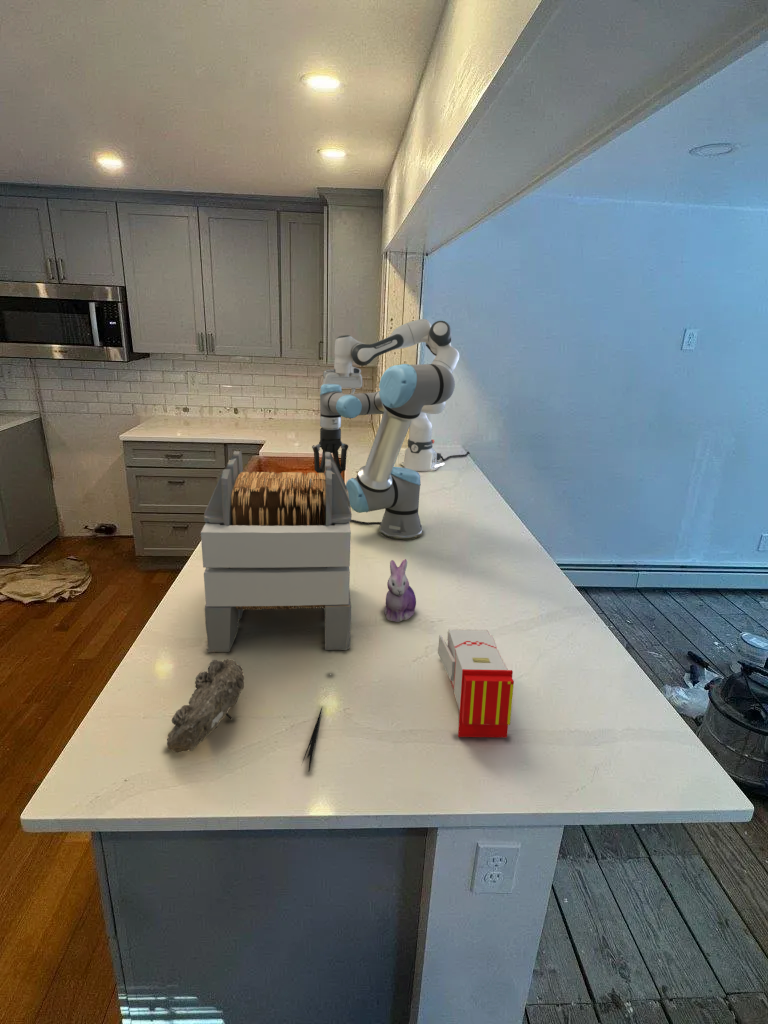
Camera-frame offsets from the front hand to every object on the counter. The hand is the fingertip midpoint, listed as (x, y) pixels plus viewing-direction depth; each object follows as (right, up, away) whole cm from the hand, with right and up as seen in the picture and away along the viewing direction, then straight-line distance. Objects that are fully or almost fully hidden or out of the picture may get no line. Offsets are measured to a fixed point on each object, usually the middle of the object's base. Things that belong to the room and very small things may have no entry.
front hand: (330, 489), depth 213 cm
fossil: (-12, -48, -105) cm, 116 cm away
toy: (+38, -46, -94) cm, 112 cm away
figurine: (+24, -35, -66) cm, 78 cm away
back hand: (-1, +50, +74) cm, 89 cm away
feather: (+8, -48, -104) cm, 115 cm away
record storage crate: (-5, -35, -69) cm, 77 cm away
